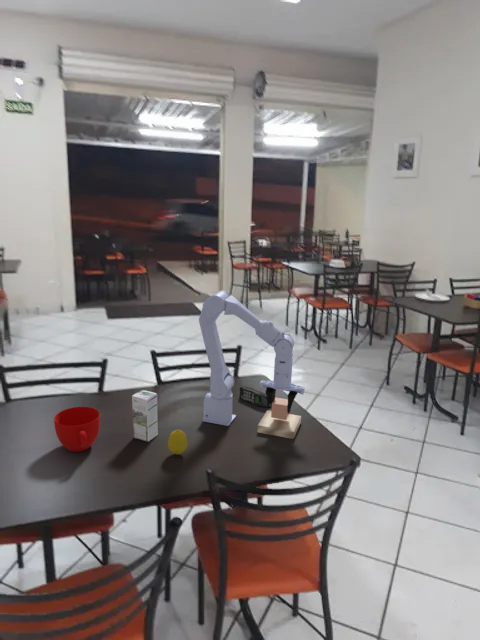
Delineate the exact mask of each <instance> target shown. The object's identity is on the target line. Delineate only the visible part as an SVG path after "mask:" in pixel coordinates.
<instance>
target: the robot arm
mask: <svg viewBox="0 0 480 640" xmlns="http://www.w3.org/2000/svg"><path fill="white" fill-rule="evenodd" d="M223 312H224V313H223ZM222 313H223V314H224V316H231V315H233V316H235V317H237V318H238V319H240V320H242V321H243V322H244V323H246V325H248V326H250V327H252V328H253V329H254V330H255V334H256V335H255V336H257V337H259V338H260V339H261V340H262V341H264V342H265V343H267V344H268V345H269V346H271V347H272V348H273V350H274V353H275V356H274V367H273V368H274V370H273V380H260V382H259V388H260V389H264V388H265V389H266V390H265V392H264V393H265V394H266V395H267V397H268V399H269V402H270V406H271V408H270V411H271V410H272V402H273V401H274V399H275V398H276V392H277V391H278V392H283V391H285V392H288V393H287V399H288V409H287V413H289V414H291V413H290V412H291V410H292V405H293V403H294V401H295V399H296V396H297V395H298V394H300V395H304V394H305V388H306V387H305V386H301V385H298V384H294V383H292V376H293V375H292V374H293V360H294V359H293V351H294V350H293V349H294V346H295V339H294V337H293V336H292V335H291V334H290V333H286V332H285V331H281V330H280V329H279V328H278V327H276V326H275V325H274V324H275V323H274V321H271V320H270V321H268V320H264V319H263V320H261V319H260V318H259V317H257V316H256V314H254V313H253V312H252V311H250V310H249V309H248V308H247V307H246V306H245V305H244V304H242V303H241V302H240V301H239V300H238V299H237V298H236V297H235V296H233V295H231V294H230V293H229V292H228V291H226V290H217V291H216V292H215V293H214V294H212V295H210V296H209V297H207V299H206V300H205V301H204V302H203V303H202V309H201V311H200V315H199V318H198V323H199V326H200V330H201V334H202V339H203V340H202V341H203V343H204V347H205V351H206V352H205V353H206V356H207V359H208V363H209V369H210V375H209V381H210V386H209V392H207V393H205V396H204V399H203V419H202V422H206V423H211V424H216V425H220V426H226V427H229V426H230V425H231V424H232V422H233V421H234V420H235V418H236V416H237V415H236V414H233V402H234V401H233V399H234V397H233V396H234V395H233V390H232V388H233V387H234V386H235V378H234V376H233V375H232V374H231V372H230V369H229V367H228V366H227V365H226V360H225V357H224V353H223V348H222V343H221V341H220V336H219V332H218V331H219V330H218V327H217V323H216V321H217V319H218V318H219V317H220V315H221V314H222Z"/></svg>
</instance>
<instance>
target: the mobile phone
mask: <svg viewBox="0 0 480 640" xmlns="http://www.w3.org/2000/svg"><path fill="white" fill-rule="evenodd" d="M239 399H241V400H244V401H246V402H249V403H251V402H252V403H251V404H254V405H256V406H259V407H263V408H267V407H268V408H270V409H271V406H270V402H269V399H268V397H267V395H266V392H262V391H260V390H257V389H254V388H252V387H248V386H241V387H239Z"/></svg>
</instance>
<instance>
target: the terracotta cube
mask: <svg viewBox="0 0 480 640" xmlns="http://www.w3.org/2000/svg"><path fill="white" fill-rule="evenodd" d="M287 409H288V398H281V397H275V399H274V401H273V402H272V410H271V409H270V411H271V417H272V418H278V419H283V420H286V419H287V417H288V415H289V414H290V413H287Z"/></svg>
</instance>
